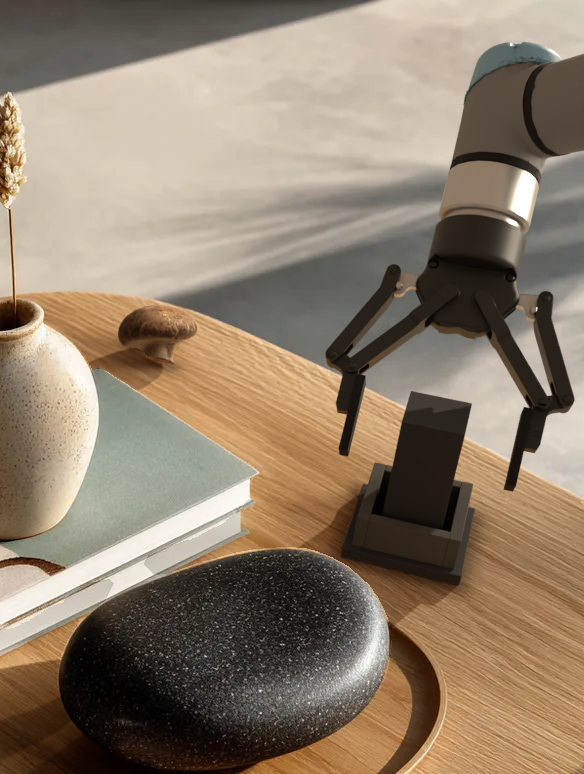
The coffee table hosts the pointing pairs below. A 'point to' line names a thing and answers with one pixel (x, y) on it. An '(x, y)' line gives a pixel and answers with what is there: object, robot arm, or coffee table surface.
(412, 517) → the dark rectangular block
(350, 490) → the coffee table surface
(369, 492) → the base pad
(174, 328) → the mushroom
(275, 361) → the coffee table surface
